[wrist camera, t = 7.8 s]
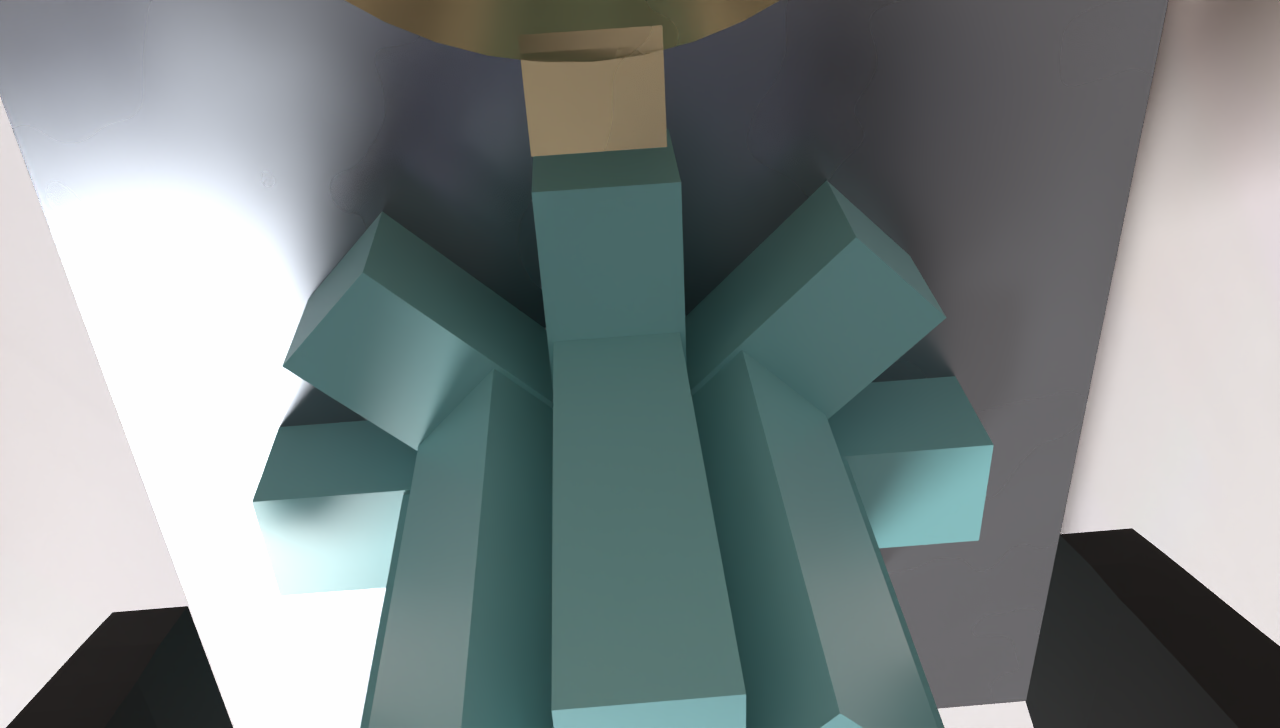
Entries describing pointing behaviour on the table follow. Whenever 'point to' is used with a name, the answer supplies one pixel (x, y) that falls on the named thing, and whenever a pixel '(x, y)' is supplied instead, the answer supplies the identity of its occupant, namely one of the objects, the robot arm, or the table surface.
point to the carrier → (507, 246)
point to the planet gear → (627, 469)
